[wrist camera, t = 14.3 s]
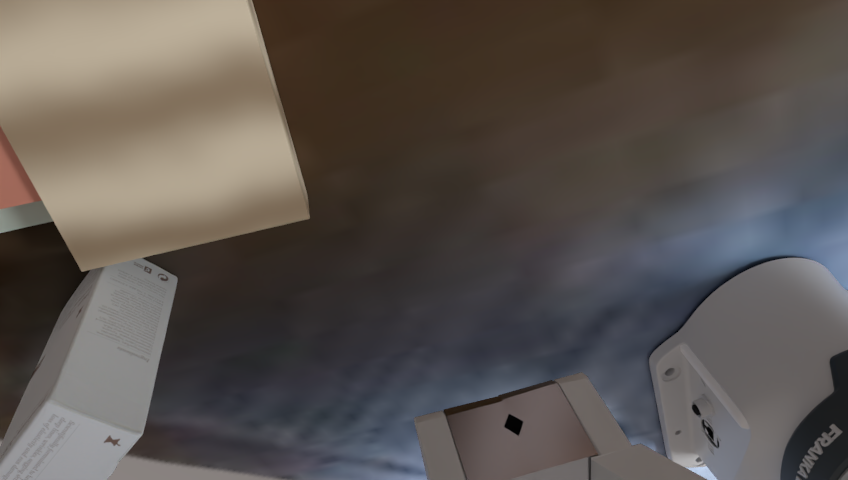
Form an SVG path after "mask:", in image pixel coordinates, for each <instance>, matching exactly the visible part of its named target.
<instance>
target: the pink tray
mask: <svg viewBox="0 0 848 480" xmlns="http://www.w3.org/2000/svg"><path fill="white" fill-rule="evenodd" d="M37 201H42V200H41V198H40V196H39V194H38V193H37V191H36V189H35V187H34V185H33V184H32V182H31V180H30V178H29V176H28V175H27V173H26V171H25V169H24V167H23V166H22V164H21V162H20V160H19V159H18V157H17V155H16V153H15V151H14V150H13V148H12V146H11V144H10V142H9V141H8V139H7V137H6V135H5V133H4V132H3V130H2V128H1V126H0V209H4V208H9V207H13V206H18V205H23V204H28V203H32V202H37Z"/></svg>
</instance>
